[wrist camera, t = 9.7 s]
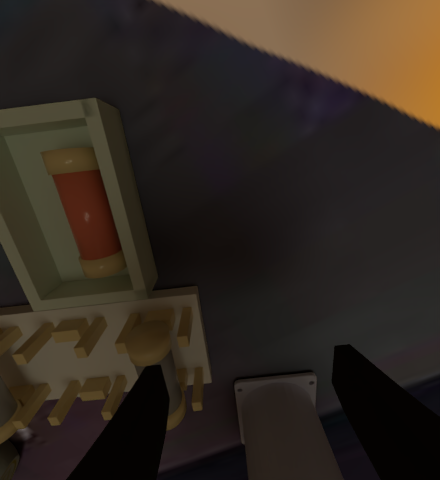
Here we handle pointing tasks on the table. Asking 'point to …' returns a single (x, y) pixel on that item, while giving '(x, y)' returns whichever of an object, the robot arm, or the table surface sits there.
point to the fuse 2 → (158, 362)
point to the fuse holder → (95, 351)
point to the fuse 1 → (7, 412)
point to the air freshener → (8, 460)
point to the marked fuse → (86, 209)
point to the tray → (51, 210)
